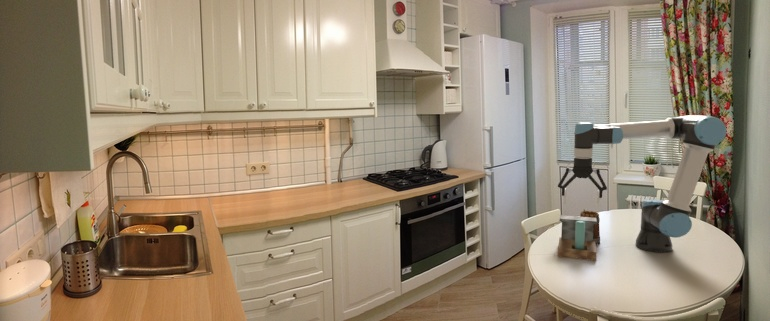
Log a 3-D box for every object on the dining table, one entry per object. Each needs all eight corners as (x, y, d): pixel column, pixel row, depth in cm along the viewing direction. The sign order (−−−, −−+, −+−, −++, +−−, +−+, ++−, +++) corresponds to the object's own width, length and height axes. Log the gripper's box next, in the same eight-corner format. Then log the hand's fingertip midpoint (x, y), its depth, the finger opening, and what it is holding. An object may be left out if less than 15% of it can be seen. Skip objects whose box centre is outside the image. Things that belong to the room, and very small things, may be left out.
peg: (583, 254, 208) (585, 221, 206) (583, 257, 204) (585, 223, 202) (574, 253, 210) (575, 220, 207) (574, 256, 206) (575, 222, 204)
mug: (602, 245, 219) (604, 216, 217) (579, 245, 221) (580, 215, 219) (594, 235, 234) (595, 207, 232) (573, 235, 236) (574, 207, 234)
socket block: (594, 248, 216) (596, 217, 213) (596, 260, 200) (597, 227, 198) (559, 244, 222) (560, 215, 220) (557, 256, 206) (558, 224, 204)
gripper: (613, 157, 199) (611, 203, 202) (553, 155, 209) (552, 200, 212) (615, 159, 192) (612, 207, 195) (552, 157, 202) (551, 203, 205)
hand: (581, 203), depth 203 cm, fingers open, 13 cm apart
